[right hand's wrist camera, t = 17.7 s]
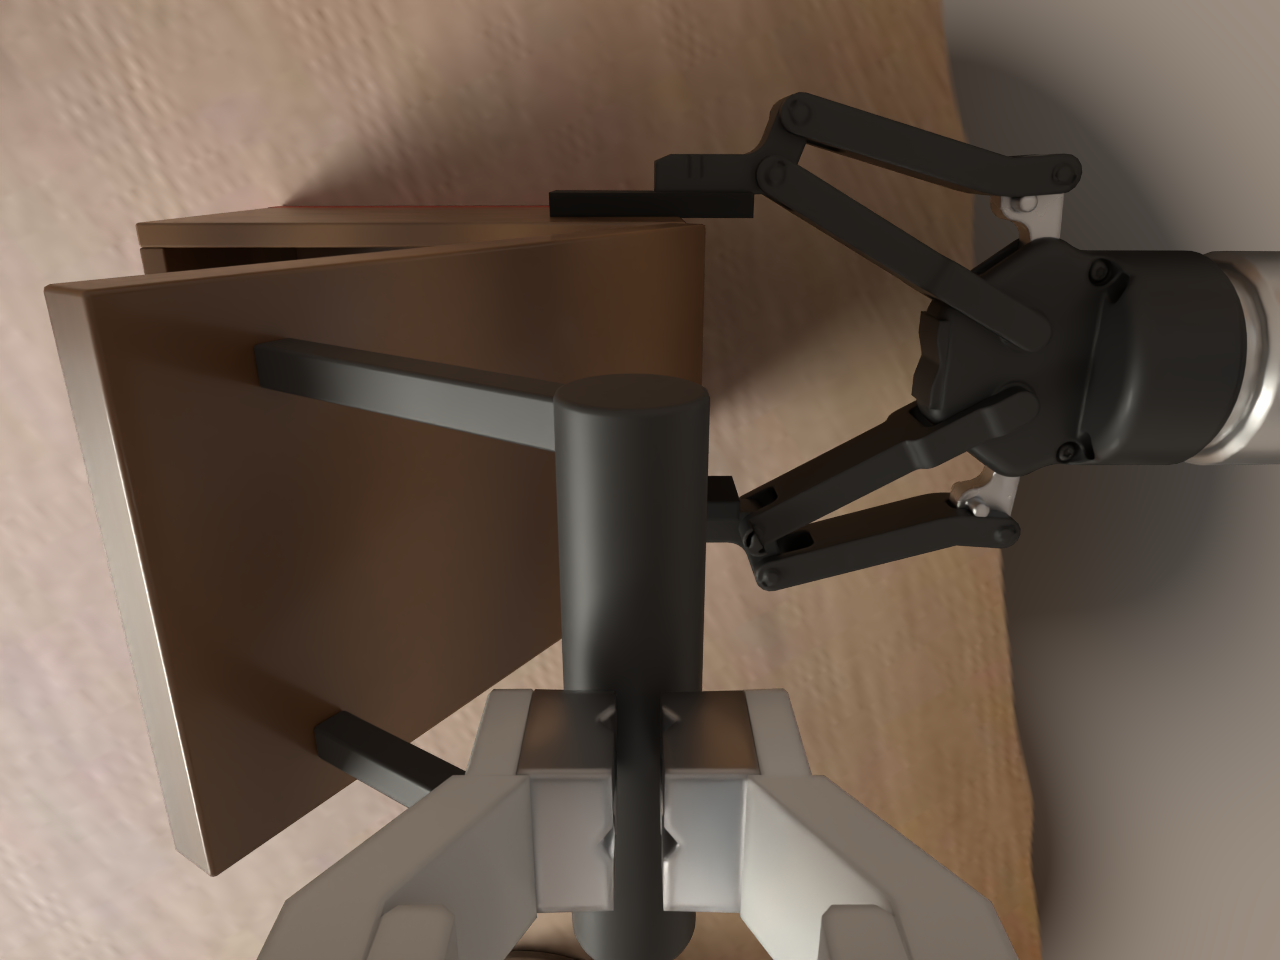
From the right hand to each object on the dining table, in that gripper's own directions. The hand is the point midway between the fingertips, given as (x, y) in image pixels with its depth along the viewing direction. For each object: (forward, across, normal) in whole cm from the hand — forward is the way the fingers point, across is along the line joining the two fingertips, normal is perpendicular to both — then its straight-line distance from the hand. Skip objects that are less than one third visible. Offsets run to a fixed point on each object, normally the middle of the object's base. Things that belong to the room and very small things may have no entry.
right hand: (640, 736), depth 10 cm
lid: (+10, -4, 0) cm, 11 cm away
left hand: (+21, -3, 0) cm, 21 cm away
